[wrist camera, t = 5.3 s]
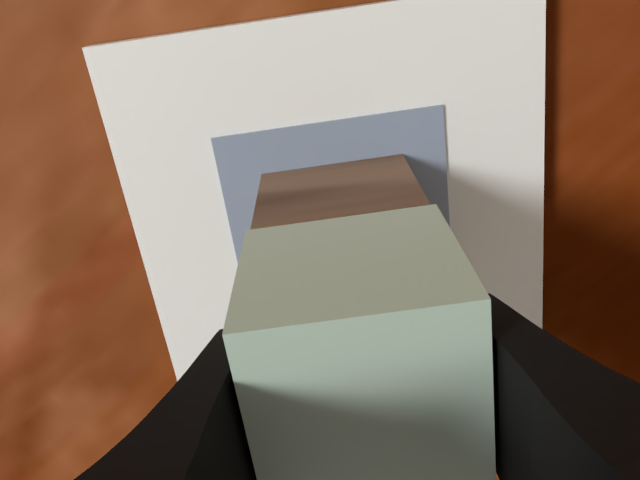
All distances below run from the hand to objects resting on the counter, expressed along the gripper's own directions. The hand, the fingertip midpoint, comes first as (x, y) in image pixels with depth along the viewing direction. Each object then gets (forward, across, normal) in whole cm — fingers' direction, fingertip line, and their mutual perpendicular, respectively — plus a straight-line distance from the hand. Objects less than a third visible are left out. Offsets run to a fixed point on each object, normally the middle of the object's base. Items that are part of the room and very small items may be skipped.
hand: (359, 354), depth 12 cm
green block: (+2, 0, 0) cm, 2 cm away
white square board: (+7, 0, 0) cm, 7 cm away
